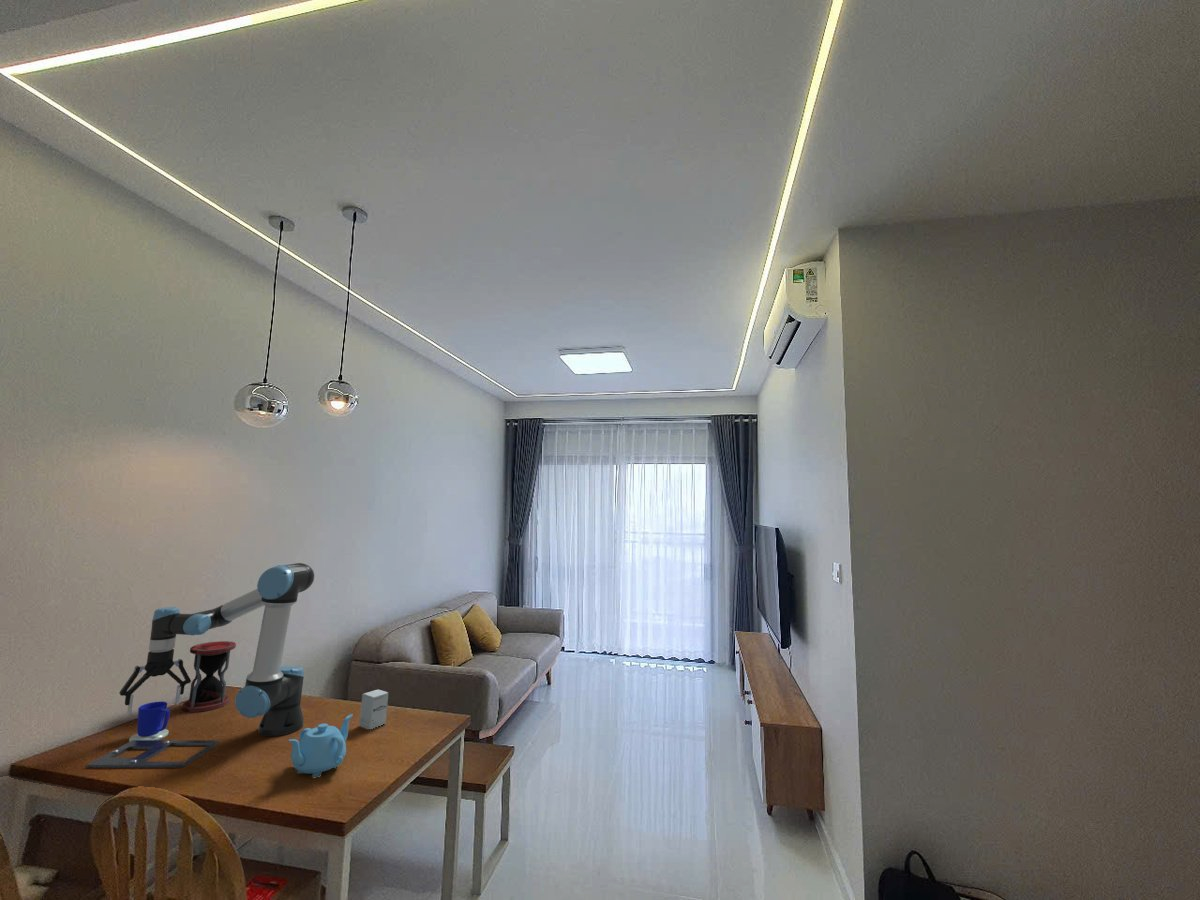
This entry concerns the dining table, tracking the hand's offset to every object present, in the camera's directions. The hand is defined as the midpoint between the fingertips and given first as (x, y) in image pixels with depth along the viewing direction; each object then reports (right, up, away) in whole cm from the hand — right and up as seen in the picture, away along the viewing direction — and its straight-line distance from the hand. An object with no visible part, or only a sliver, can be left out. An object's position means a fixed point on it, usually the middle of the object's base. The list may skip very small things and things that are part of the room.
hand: (153, 708), depth 188 cm
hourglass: (-4, -14, +30) cm, 34 cm away
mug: (0, -9, -1) cm, 9 cm away
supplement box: (+75, -15, +15) cm, 78 cm away
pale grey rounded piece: (-1, -10, -1) cm, 10 cm away
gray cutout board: (+14, -9, -14) cm, 21 cm away
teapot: (+73, -10, -20) cm, 76 cm away
